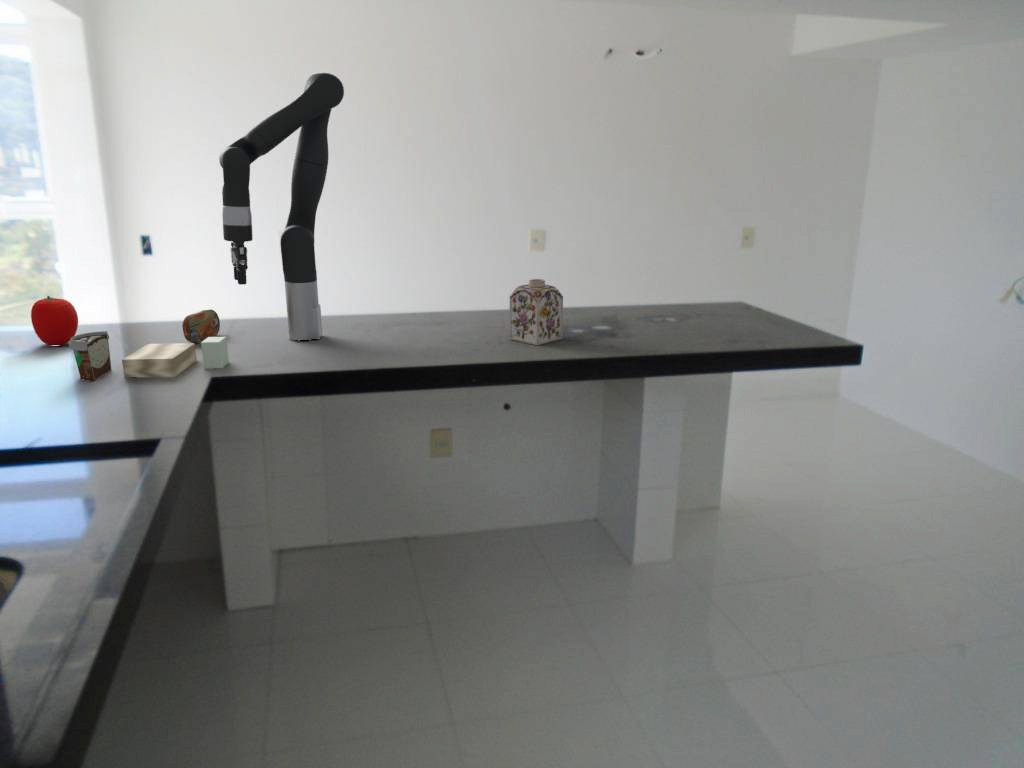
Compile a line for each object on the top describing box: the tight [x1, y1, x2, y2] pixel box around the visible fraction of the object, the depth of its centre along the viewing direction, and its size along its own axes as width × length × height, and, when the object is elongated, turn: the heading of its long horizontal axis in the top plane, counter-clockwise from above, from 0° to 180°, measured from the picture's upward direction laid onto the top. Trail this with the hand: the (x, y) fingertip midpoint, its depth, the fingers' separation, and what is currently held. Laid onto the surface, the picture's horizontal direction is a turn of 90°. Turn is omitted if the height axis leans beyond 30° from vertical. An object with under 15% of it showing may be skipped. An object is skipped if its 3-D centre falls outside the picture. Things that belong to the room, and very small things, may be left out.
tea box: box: [200, 336, 230, 370], centre depth 191 cm, size 4×6×7 cm
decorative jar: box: [508, 278, 564, 346], centre depth 218 cm, size 12×12×18 cm
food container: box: [68, 330, 113, 382], centre depth 180 cm, size 12×6×10 cm, turn 5°
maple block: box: [121, 342, 198, 378], centre depth 188 cm, size 12×16×5 cm
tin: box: [182, 309, 221, 344], centre depth 218 cm, size 15×3×8 cm, turn 168°
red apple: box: [30, 295, 79, 346], centre depth 211 cm, size 13×11×14 cm
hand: (240, 282), depth 207 cm, fingers open, 8 cm apart
